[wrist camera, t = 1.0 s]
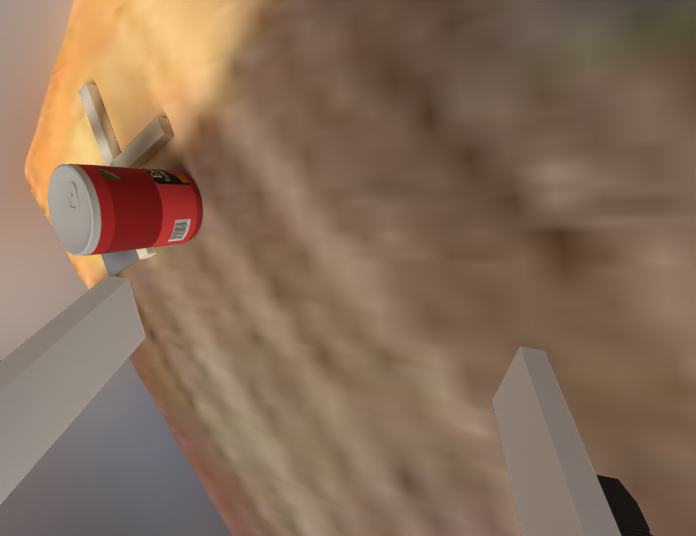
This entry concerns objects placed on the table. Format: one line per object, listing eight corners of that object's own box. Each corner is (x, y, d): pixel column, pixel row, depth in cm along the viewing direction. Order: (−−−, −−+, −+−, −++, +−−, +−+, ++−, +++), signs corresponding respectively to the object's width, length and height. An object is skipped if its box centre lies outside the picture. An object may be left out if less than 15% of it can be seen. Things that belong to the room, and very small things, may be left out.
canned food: (199, 166, 38) (82, 157, 29) (209, 242, 39) (100, 256, 30) (155, 175, 42) (39, 169, 33) (165, 243, 43) (57, 257, 34)
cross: (59, 133, 51) (48, 132, 50) (136, 32, 39) (125, 28, 38) (112, 280, 51) (102, 282, 50) (205, 222, 39) (196, 222, 38)
